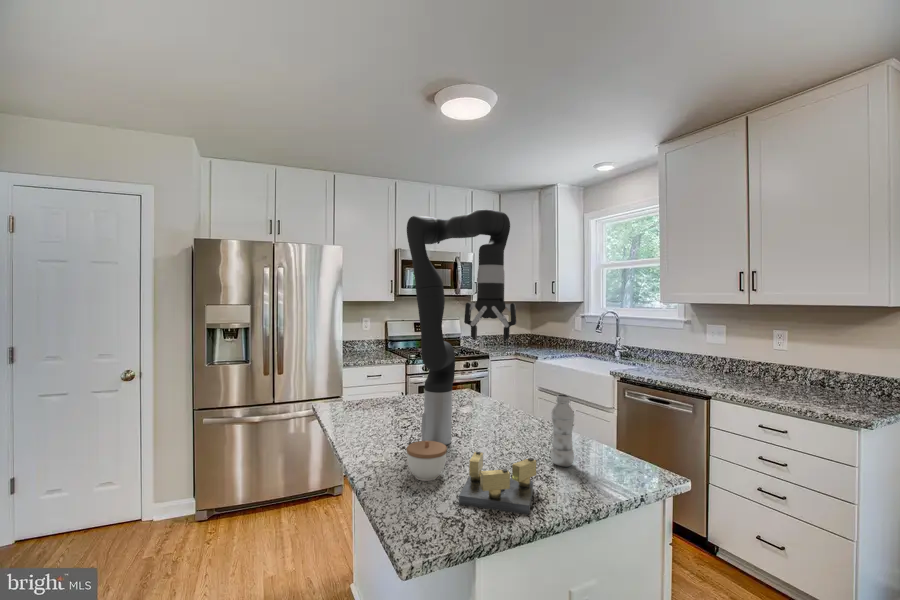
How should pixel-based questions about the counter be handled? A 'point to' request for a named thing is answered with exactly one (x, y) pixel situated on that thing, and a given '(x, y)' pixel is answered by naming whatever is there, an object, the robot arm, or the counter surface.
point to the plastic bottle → (562, 432)
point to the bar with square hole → (495, 481)
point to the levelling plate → (509, 501)
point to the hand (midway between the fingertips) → (489, 340)
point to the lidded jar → (426, 459)
